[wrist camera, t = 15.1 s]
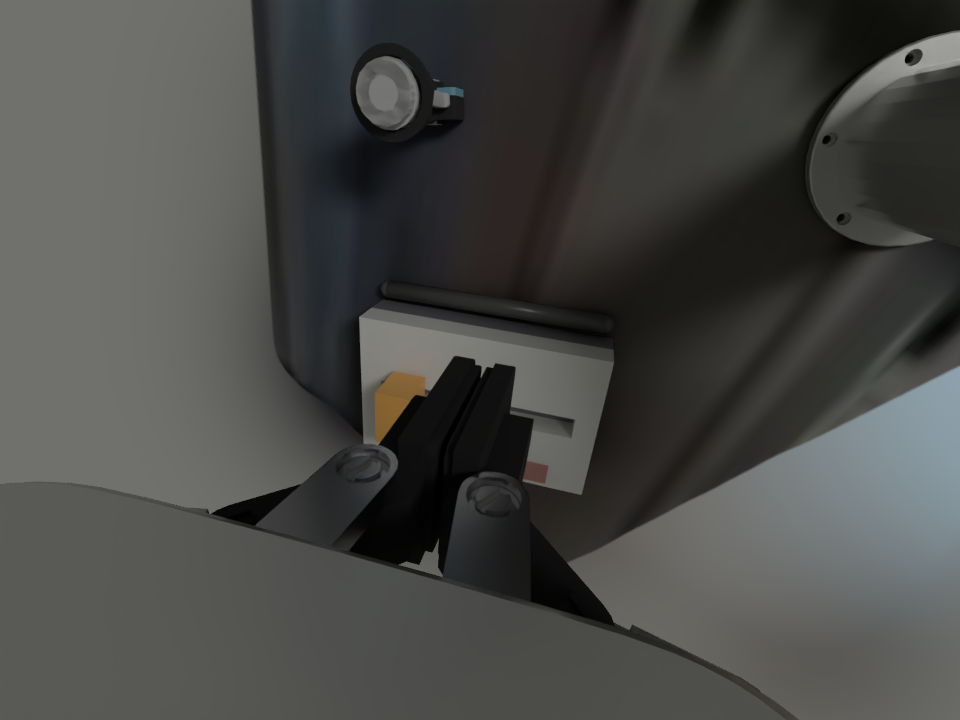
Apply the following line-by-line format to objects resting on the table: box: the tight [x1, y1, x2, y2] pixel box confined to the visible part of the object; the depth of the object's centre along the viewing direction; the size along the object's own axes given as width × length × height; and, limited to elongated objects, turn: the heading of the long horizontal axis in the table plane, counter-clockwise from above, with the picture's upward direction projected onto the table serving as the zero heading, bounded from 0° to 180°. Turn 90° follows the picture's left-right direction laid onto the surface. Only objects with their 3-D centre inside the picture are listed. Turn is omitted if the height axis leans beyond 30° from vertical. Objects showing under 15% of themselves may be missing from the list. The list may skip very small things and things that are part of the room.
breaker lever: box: [375, 371, 428, 442], centre depth 42 cm, size 3×5×6 cm, turn 174°
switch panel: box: [359, 280, 615, 495], centre depth 43 cm, size 22×16×5 cm
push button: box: [350, 43, 464, 142], centre depth 32 cm, size 7×5×10 cm
